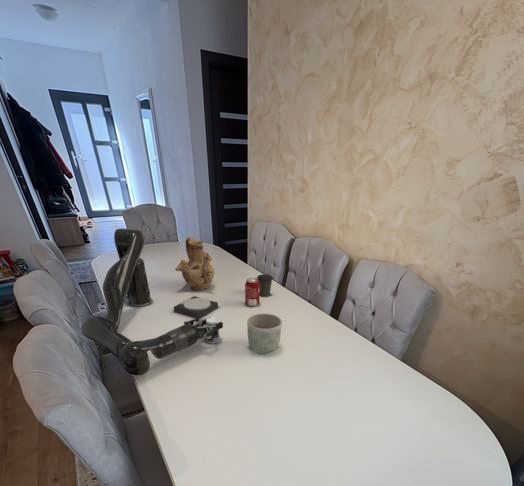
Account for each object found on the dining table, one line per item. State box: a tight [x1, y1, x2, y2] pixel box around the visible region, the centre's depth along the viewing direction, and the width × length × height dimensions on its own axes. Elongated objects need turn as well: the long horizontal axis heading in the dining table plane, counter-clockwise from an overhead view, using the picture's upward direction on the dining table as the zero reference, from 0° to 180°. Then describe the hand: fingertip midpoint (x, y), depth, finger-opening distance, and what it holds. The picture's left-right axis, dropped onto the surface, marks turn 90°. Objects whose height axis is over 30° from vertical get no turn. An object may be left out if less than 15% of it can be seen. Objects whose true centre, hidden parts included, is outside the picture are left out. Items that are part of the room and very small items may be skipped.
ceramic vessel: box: [174, 236, 215, 291], centre depth 157 cm, size 18×19×25 cm
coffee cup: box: [256, 273, 274, 297], centre depth 155 cm, size 8×8×10 cm
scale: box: [173, 295, 219, 320], centre depth 140 cm, size 14×14×3 cm
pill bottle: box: [204, 316, 221, 344], centre depth 116 cm, size 5×5×9 cm
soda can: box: [244, 277, 261, 307], centre depth 144 cm, size 7×7×12 cm
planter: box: [246, 312, 283, 354], centre depth 112 cm, size 12×12×11 cm
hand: (216, 321), depth 116 cm, fingers closed on pill bottle, 5 cm apart
